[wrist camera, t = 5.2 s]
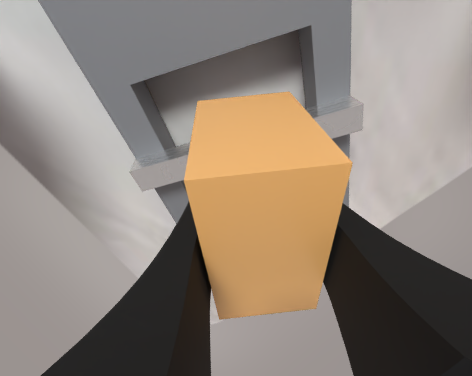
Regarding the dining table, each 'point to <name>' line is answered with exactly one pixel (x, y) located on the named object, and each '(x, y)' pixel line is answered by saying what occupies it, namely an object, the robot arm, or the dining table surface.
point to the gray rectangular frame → (194, 55)
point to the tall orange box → (264, 201)
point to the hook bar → (175, 159)
